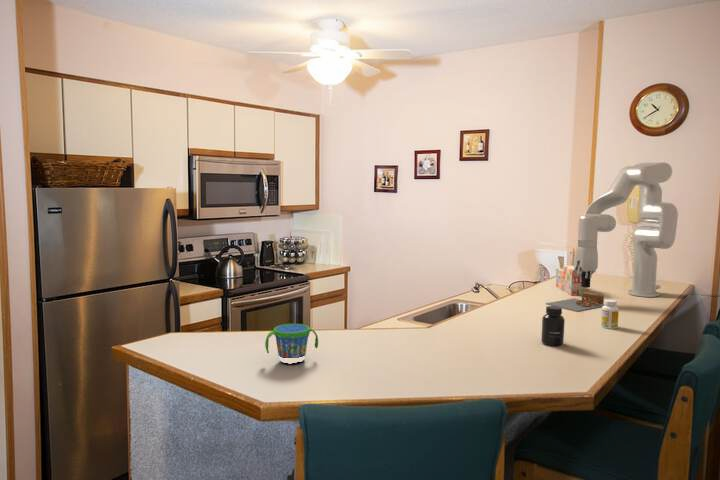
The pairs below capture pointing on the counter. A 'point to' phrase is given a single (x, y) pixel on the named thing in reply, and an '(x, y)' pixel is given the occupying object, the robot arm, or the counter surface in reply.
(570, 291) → the stack of blocks
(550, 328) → the supplement bottle
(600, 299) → the gingerbread man figurine
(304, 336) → the snack cup
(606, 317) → the supplement bottle
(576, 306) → the mat
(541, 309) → the counter surface
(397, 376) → the counter surface
